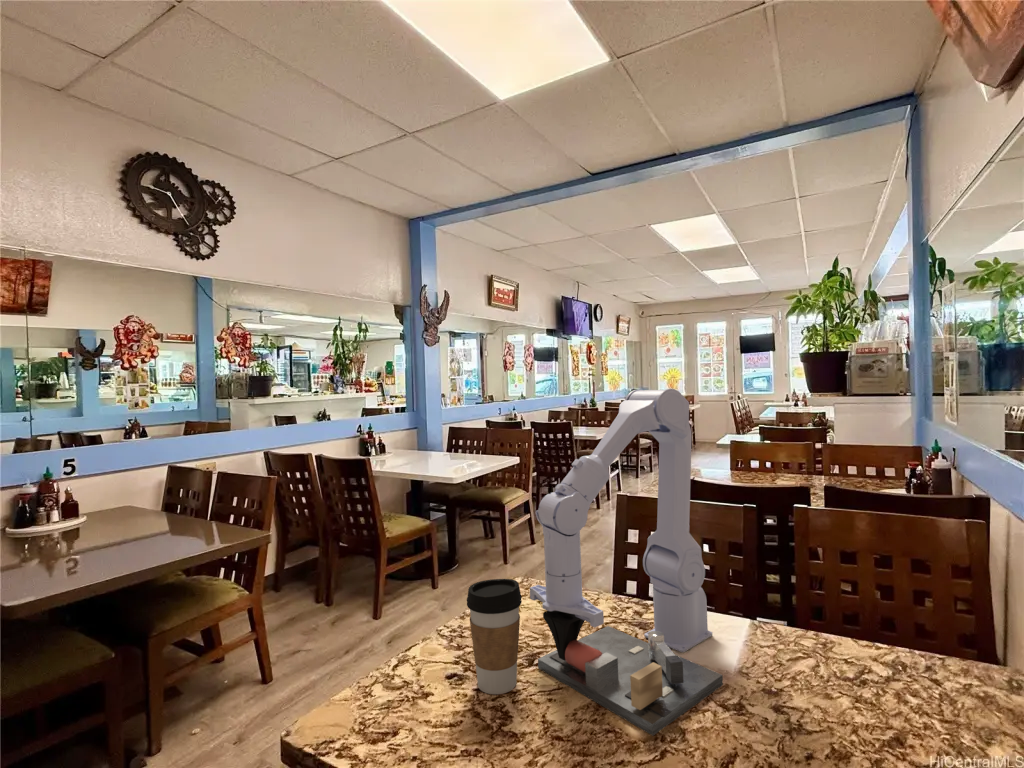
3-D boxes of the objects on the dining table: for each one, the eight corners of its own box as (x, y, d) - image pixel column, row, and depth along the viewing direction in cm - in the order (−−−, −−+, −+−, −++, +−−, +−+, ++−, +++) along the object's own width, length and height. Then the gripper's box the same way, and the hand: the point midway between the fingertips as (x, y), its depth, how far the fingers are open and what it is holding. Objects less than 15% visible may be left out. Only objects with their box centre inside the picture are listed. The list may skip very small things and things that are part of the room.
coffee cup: (519, 702, 75) (515, 597, 75) (462, 697, 77) (459, 594, 77) (529, 670, 83) (525, 576, 83) (477, 667, 85) (474, 574, 85)
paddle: (654, 691, 73) (653, 662, 73) (662, 695, 72) (661, 666, 72) (631, 705, 70) (630, 675, 70) (640, 710, 69) (638, 679, 69)
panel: (608, 634, 95) (607, 608, 95) (724, 685, 77) (722, 653, 77) (538, 668, 84) (537, 638, 84) (654, 736, 67) (652, 699, 67)
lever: (646, 653, 83) (645, 631, 83) (661, 652, 84) (660, 630, 84) (669, 684, 74) (668, 660, 74) (685, 683, 75) (684, 658, 75)
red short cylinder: (581, 659, 82) (580, 636, 82) (604, 671, 79) (603, 646, 79) (565, 667, 80) (564, 644, 80) (587, 680, 76) (586, 655, 76)
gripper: (514, 565, 86) (517, 648, 85) (578, 589, 74) (582, 686, 74) (546, 555, 90) (549, 634, 90) (611, 577, 79) (615, 668, 79)
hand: (566, 657), depth 82 cm, fingers closed
